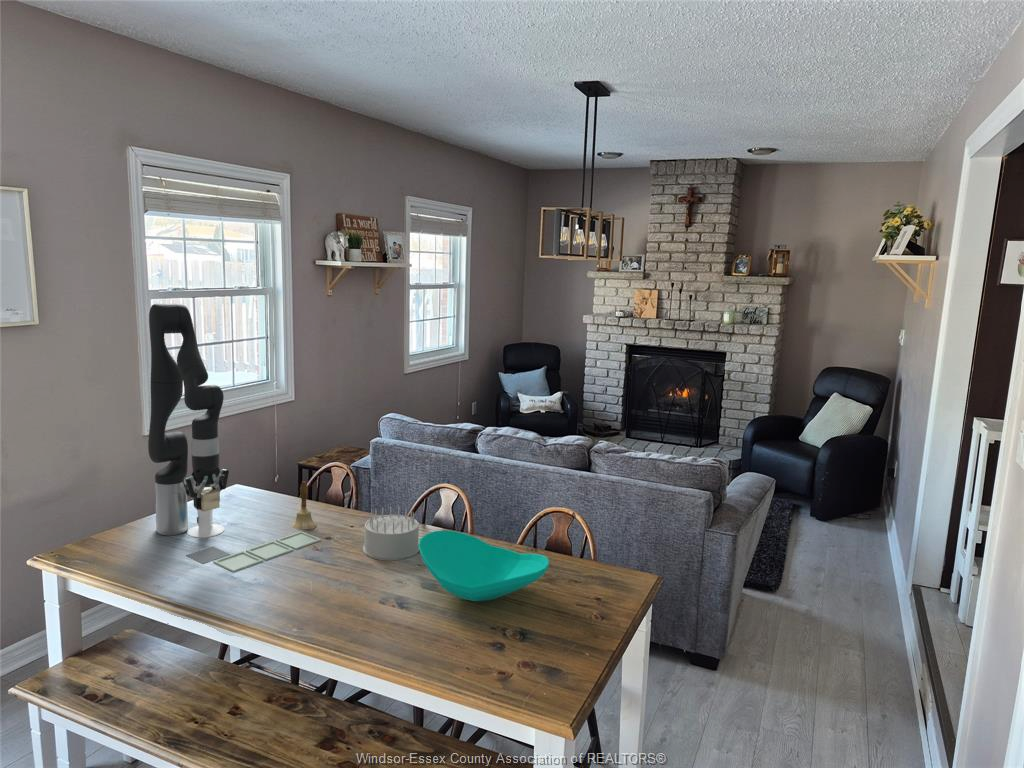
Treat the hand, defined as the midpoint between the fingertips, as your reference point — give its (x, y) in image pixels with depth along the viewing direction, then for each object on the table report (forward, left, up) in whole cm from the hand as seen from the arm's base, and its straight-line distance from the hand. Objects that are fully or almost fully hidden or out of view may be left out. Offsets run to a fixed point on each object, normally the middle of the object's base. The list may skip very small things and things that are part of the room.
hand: (206, 506), depth 213 cm
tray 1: (+11, +3, -16) cm, 20 cm away
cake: (+37, +41, -16) cm, 58 cm away
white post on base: (-19, +11, -16) cm, 27 cm away
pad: (0, 0, -16) cm, 16 cm away
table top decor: (+78, +35, -16) cm, 87 cm away
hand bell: (+1, +35, -16) cm, 39 cm away
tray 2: (+11, +14, -16) cm, 24 cm away
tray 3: (+11, +25, -16) cm, 32 cm away
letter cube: (0, 0, 0) cm, 0 cm away
